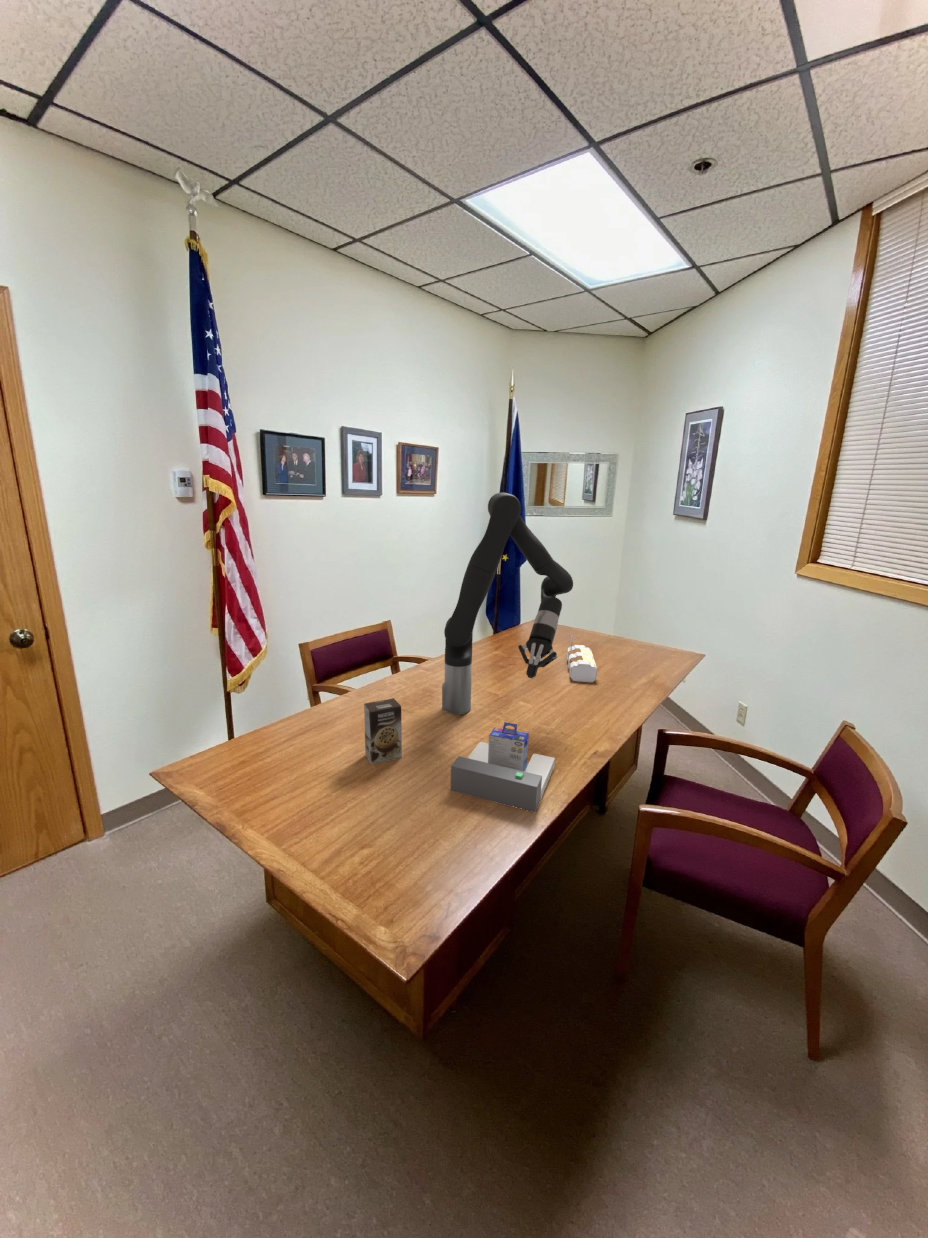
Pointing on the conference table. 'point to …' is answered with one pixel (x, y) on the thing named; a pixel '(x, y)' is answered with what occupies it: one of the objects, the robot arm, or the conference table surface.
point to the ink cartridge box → (508, 747)
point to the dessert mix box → (383, 731)
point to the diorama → (582, 664)
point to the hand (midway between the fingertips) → (530, 677)
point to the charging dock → (501, 779)
